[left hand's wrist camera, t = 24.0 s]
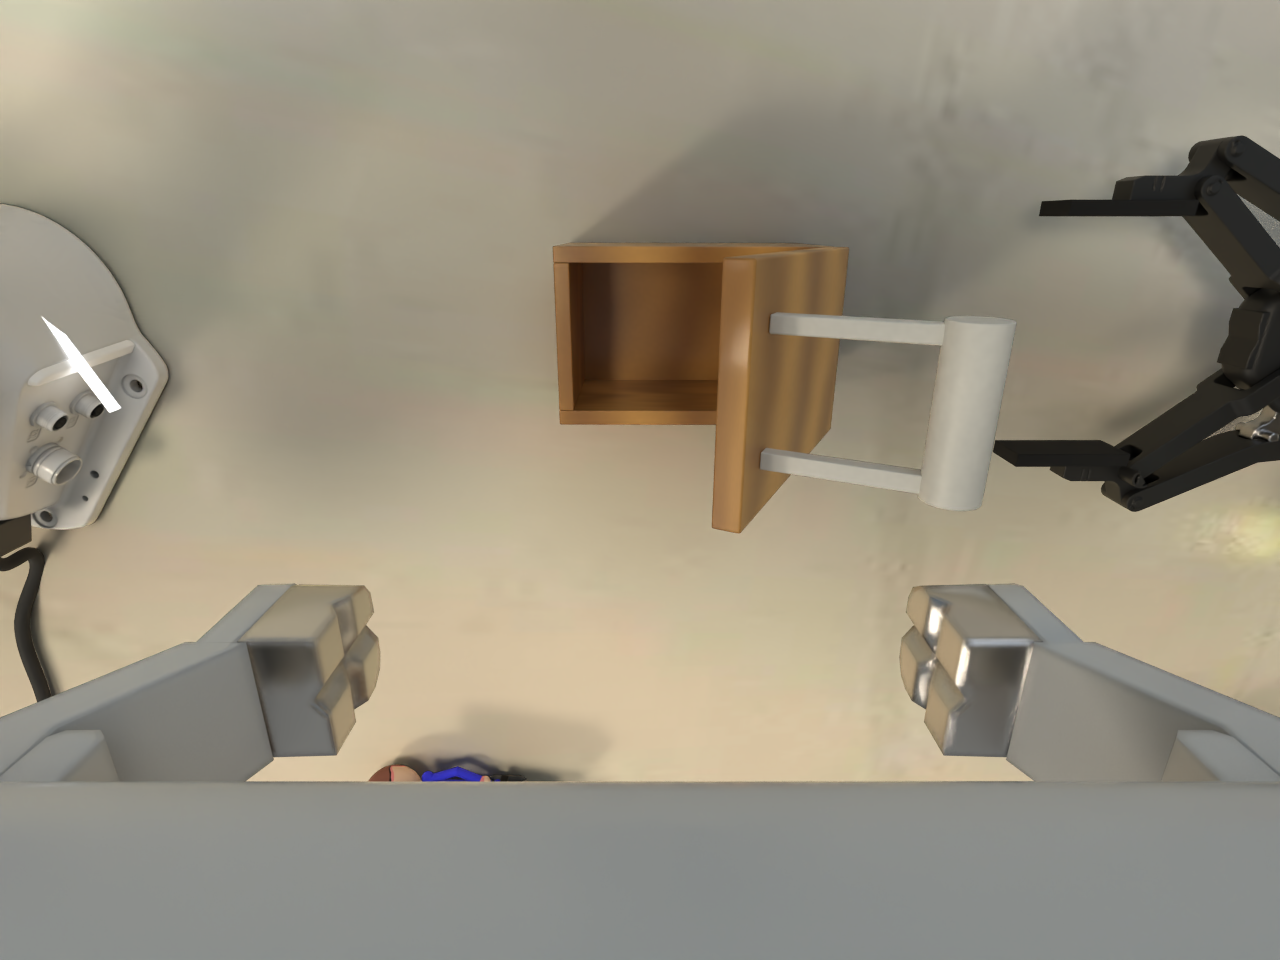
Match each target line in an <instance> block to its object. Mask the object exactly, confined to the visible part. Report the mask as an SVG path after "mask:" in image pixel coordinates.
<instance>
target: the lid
mask: <svg viewBox="0 0 1280 960" xmlns="http://www.w3.org/2000/svg"><path fill="white" fill-rule="evenodd" d="M848 255H849V248H848V247H823V248H813V249H803V250H793V251H783V252H774V253H764V254H754V255H744V256H734V257H726V258H724V259H723V274H722V298H721V322H720V345H719V369H718V393H717V416H716V440H715V463H714V487H713V511H712V528H714V529H719V530H724V531H729V532H734V533H741V532H742V531H743V529H744V528H745V527H746V526H747V525H748V524H749V522H750V521H751V520H752V519H753V518H754V517H755V515H756V514H757V513H758V512H759V511H760V510H761V509H762V507H763V506H764V505H765V504H766V503H767V502H768V500H769V499H770V498H771V497H772V496H773V495H774V493H775V492H776V491H777V490H778V489H779V488H780V487H781V485H782V484H783V483H784V482H785V481H786V480H787V478H788V477H789V476H790V475H791V474H793V475H799V476H805V477H812V478H818V479H825V480H831V481H837V482H844V483H850V484H857V485H863V486H869V487H876V488H882V489H889V490H895V491H901V492H908V493H914V494H918V498H919V499H920V500H921V501H922V502H924V503H926V504H928V505H930V506H933V507H936V508H940V509H945V510H951V511H971V510H976V509H978V508H980V507H981V505H982V501H983V496H984V491H985V486H986V480H987V475H988V470H989V465H990V459H991V454H992V449H993V444H994V439H995V433H996V428H997V423H998V418H999V413H1000V407H1001V402H1002V397H1003V392H1004V387H1005V381H1006V376H1007V371H1008V366H1009V361H1010V355H1011V350H1012V345H1013V340H1014V334H1015V329H1016V324H1017V323H1016V321H1014V320H1011V319H1005V318H997V317H986V316H951V317H947V318H945V321H925V320H907V319H889V318H871V317H853V316H842V313H843V304H844V294H845V284H846V275H847V265H848ZM840 339H850V340H865V341H879V342H894V343H908V344H923V345H937V346H941V347H940V353H939V359H938V366H937V372H936V379H935V385H934V392H933V398H932V405H931V411H930V417H929V424H928V430H927V437H926V443H925V450H924V456H923V462H922V469H921V470H919V469H912V468H905V467H898V466H891V465H884V464H877V463H870V462H863V461H856V460H849V459H841V458H834V457H827V456H820V455H813V454H809V453H810V452H811V451H812V450H813V448H814V447H815V446H816V445H817V444H818V443H819V441H820V440H821V439H822V438H823V437H824V436H825V435H826V433H827V432H828V431H829V430H830V428H831V420H832V410H833V400H834V391H835V381H836V371H837V362H838V352H839V342H840Z"/></svg>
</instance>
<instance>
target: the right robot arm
mask: <svg viewBox="0 0 1280 960" xmlns="http://www.w3.org/2000/svg"><path fill="white" fill-rule="evenodd" d="M1188 158H1189V162H1190V163H1189V164H1188V166H1187V168H1186V169H1185V170H1184V171H1183V172H1182V173H1181V174H1179V175H1178V176H1137V177H1126V178H1124V179H1121V180H1119V181H1116V185H1115V189H1114V193H1113V198H1112V200H1058V201H1042V203H1041V209H1040V214H1039V216H1183V217H1184V219H1185V220H1186V221H1187V222H1188V224H1189V225H1190V226H1191V227H1192V228H1193V230H1194V231H1195V232H1196V233H1197V234H1198V236H1199V237H1200V238H1201V239H1202V240H1203V242H1204V243H1205V244H1206V245H1207V246H1208V248H1209V249H1210V250H1211V251H1212V252H1213V254H1214V255H1215V256H1216V257H1217V259H1218V260H1219V261H1220V262H1221V263H1222V265H1223V266H1224V267H1225V268H1226V269H1227V271H1228V272H1229V273H1230V274H1231V277H1230V278H1229V281H1230V282H1231V283H1232V285H1233V286H1234V287H1235V288H1236V289H1237V291H1238V292H1239V293H1240V294H1241V296H1242V297H1243V298H1244V299H1245V300H1244V301H1243V303H1242V304H1241V305H1240V307H1239V308H1233V311H1232V314H1231V318H1230V321H1229V335H1228V338H1227V339H1226V341H1225V343H1224V345H1223V346H1222V348H1221V351H1220V354H1219V357H1218V360H1217V362H1218V363H1222V369H1220V370H1219V371H1217V372H1216V373H1214V374H1213V375H1211V376H1210V377H1208V378H1207V379H1205V380H1204V381H1202V382H1201V383H1200V384H1198V385H1197V391H1196V392H1195V393H1194V394H1192V395H1191V396H1189V397H1188V398H1186V399H1185V400H1183V401H1182V402H1180V403H1179V404H1177V405H1176V406H1174V407H1173V408H1171V409H1170V410H1168V411H1167V412H1165V413H1164V414H1162V415H1161V416H1159V417H1158V418H1156V419H1155V420H1153V421H1152V422H1150V423H1149V424H1147V425H1146V426H1144V427H1143V428H1141V429H1140V430H1138V431H1137V432H1135V433H1134V434H1132V435H1131V436H1129V437H1128V438H1127V439H1125V440H1124V441H1122V442H1121V443H1119V444H1118V445H1116V446H1115V447H1114V446H1112V445H1110V444H1107V443H1105V442H1103V441H1101V440H995V444H994V449H993V452H994V453H995V454H997V455H999V456H1000V457H1002V458H1003V459H1005V460H1006V461H1008V462H1009V463H1011V464H1013V465H1014V466H1016V467H1050V470H1051V471H1052V472H1054V473H1056V474H1058V475H1059V476H1061V477H1063V478H1065V479H1067V480H1070V481H1105V483H1104V484H1103V485H1102V488H1101V492H1102V494H1103V495H1104V496H1106V497H1108V498H1109V499H1111V500H1113V501H1115V502H1116V503H1118V504H1120V505H1122V506H1123V507H1125V508H1127V509H1129V510H1130V511H1134V512H1136V511H1140V510H1142V509H1145V508H1147V507H1150V506H1152V505H1155V504H1157V503H1159V502H1162V501H1164V500H1167V499H1169V498H1172V497H1174V496H1177V495H1179V494H1181V493H1184V492H1186V491H1189V490H1191V489H1194V488H1196V487H1199V486H1201V485H1204V484H1206V483H1208V482H1211V481H1213V480H1216V479H1218V478H1221V477H1223V476H1226V475H1228V474H1230V473H1233V472H1235V471H1238V470H1240V469H1243V468H1245V467H1248V466H1250V465H1252V464H1255V463H1257V462H1266V461H1276V460H1280V248H1279V247H1278V246H1277V245H1276V243H1275V242H1274V241H1273V239H1272V238H1271V237H1270V236H1269V234H1268V233H1267V232H1266V231H1265V229H1264V228H1263V227H1262V226H1261V224H1260V223H1259V222H1258V221H1257V219H1256V218H1255V217H1254V215H1253V214H1252V213H1251V212H1250V210H1249V209H1248V208H1247V207H1246V205H1245V204H1244V203H1243V202H1242V200H1241V199H1240V198H1239V197H1238V195H1240V196H1241V197H1243V198H1244V199H1246V200H1247V201H1249V202H1250V203H1252V204H1253V205H1255V206H1257V207H1258V208H1260V209H1261V210H1263V211H1264V212H1266V213H1267V214H1269V215H1270V216H1272V217H1274V218H1275V219H1277V220H1278V221H1280V159H1279V158H1277V157H1276V156H1274V155H1273V154H1271V153H1270V152H1268V151H1267V150H1265V149H1264V148H1262V147H1261V146H1259V145H1258V144H1256V143H1255V142H1253V141H1252V140H1250V139H1249V138H1247V137H1245V136H1235V137H1227V138H1220V139H1213V140H1208V141H1201V142H1198V143H1196V144H1195V145H1194V146H1193V147H1192V148H1191V150H1190V152H1189V157H1188ZM1237 194H1238V195H1237ZM1235 386H1237V387H1238V388H1239V389H1240V390H1239V389H1235V388H1233V387H1235ZM1262 408H1263V410H1262V412H1261V414H1260V415H1259V416H1258V417H1257V418H1256V419H1254V420H1252V421H1249V422H1247V423H1243V422H1240V423H1238V424H1237V425H1236V427H1235V430H1234V431H1228V432H1224V433H1220V434H1218V435H1215V436H1212V437H1210V438H1207V437H1208V436H1210V435H1211V434H1213V433H1214V432H1216V431H1217V430H1219V429H1221V428H1222V427H1224V426H1225V425H1227V424H1228V423H1230V422H1231V421H1233V420H1234V419H1236V418H1238V417H1241V416H1248V415H1252V414H1254V413H1256V412H1258V411H1259V410H1261V409H1262ZM1205 438H1207V439H1205ZM1204 439H1205V440H1204ZM1202 440H1203V441H1202Z"/></svg>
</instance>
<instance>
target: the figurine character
mask: <svg viewBox="0 0 1280 960" xmlns="http://www.w3.org/2000/svg"><path fill="white" fill-rule="evenodd" d="M456 776H457V777H460V778H462V779H465V780H456V779H449V778H452V777H456ZM490 779H491V780H490ZM524 780H526V778H524V777H523V776H521V775H493V776H491V777H488V776H481V775H479V774H476V773H473V772H471V771H468V770H465V769H463V768H460V767H455V768H451V769H447V770H444V771H440V772H437V773H432V772H431V771H426V772H424V773H423V775H422V781H421V779H420V777H419V775H418V774H417V773H416V772H415V771H414V770H413V769H411V768H410V767H408V766H405V765H398V764H397V765H390V766H386V767H384V768H382V769H380V770H379V771H377V772H376V773H375V774H374V775H373V776H372V777H371V778H370V779H369V781H368V782H492V781H494V782H522V781H524Z"/></svg>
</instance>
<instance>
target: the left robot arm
mask: <svg viewBox="0 0 1280 960" xmlns="http://www.w3.org/2000/svg"><path fill="white" fill-rule="evenodd" d="M137 380H138V381H139V382H140V383H141V384H142V386H143V389H141V388H139V386H138V385H137ZM167 380H168V369H167V366H166V364H165V362H164V361H163V359H162V358H161V357H160V355H159V354H158V353H157V351H156V350H155V349H154V348H153V347H152V345H151V344H150V343H149V342H148V341H147V340H146V338H145V337H144V336H143V335H142V334H141V332H140V331H139V329H138V327H137V325H136V323H135V320H134V318H133V315H132V313H131V310H130V308H129V305H128V303H127V300H126V298H125V296H124V294H123V292H122V290H121V288H120V286H119V285H118V283H117V281H116V280H115V278H114V277H113V275H112V274H111V272H110V271H109V270H108V268H107V267H106V266H105V264H104V263H103V262H102V261H101V260H100V258H99V257H98V256H97V255H96V254H95V253H94V252H93V251H92V250H91V249H90V248H89V247H88V246H87V245H86V244H85V243H84V242H82V241H81V240H80V239H79V238H78V237H76V236H75V235H74V234H72V233H71V232H70V231H68V230H67V229H65V228H64V227H62V226H61V225H59V224H58V223H56V222H54V221H52V220H50V219H48V218H46V217H44V216H42V215H40V214H37V213H35V212H33V211H30V210H27V209H24V208H20V207H16V206H12V205H6V204H0V571H8V570H11V569H13V568H15V567H17V566H19V565H21V564H22V563H24V562H26V561H27V560H28V561H29V564H30V569H29V574H28V577H27V580H26V582H25V585H24V588H23V590H22V593H21V595H20V598H19V601H18V605H17V609H16V613H15V620H14V630H15V638H16V643H17V647H18V650H19V654H20V657H21V660H22V662H23V665H24V668H25V670H26V672H27V675H28V677H29V680H30V682H31V685H32V688H33V690H34V693H35V696H36V699H37V703H35V704H32V705H30V706H27V707H25V708H23V709H20V710H18V711H15V712H13V713H10V714H8V715H5V716H3V717H0V960H1280V718H1279V717H1277V716H1274V715H1272V714H1269V713H1267V712H1264V711H1262V710H1259V709H1257V708H1255V707H1252V706H1250V705H1247V704H1245V703H1242V702H1240V701H1237V700H1235V699H1233V698H1230V697H1228V696H1225V695H1223V694H1220V693H1218V692H1215V691H1213V690H1211V689H1208V688H1206V687H1203V686H1201V685H1198V684H1196V683H1193V682H1191V681H1188V680H1186V679H1184V678H1181V677H1179V676H1176V675H1174V674H1171V673H1169V672H1166V671H1164V670H1162V669H1159V668H1157V667H1154V666H1152V665H1149V664H1147V663H1144V662H1142V661H1140V660H1137V659H1135V658H1132V657H1130V656H1127V655H1125V654H1122V653H1120V652H1118V651H1115V650H1113V649H1110V648H1108V647H1105V646H1103V645H1100V644H1098V643H1095V642H1083V641H1082V640H1081V639H1080V638H1079V637H1078V636H1077V635H1076V634H1074V633H1073V632H1072V631H1071V630H1070V629H1069V628H1068V627H1067V626H1066V625H1065V624H1064V623H1063V622H1061V621H1060V620H1059V619H1058V618H1057V617H1056V616H1055V615H1054V614H1053V613H1052V612H1051V611H1050V610H1048V609H1047V608H1046V607H1045V606H1044V605H1043V604H1042V603H1041V602H1040V601H1039V600H1038V599H1037V598H1035V597H1034V596H1033V595H1032V594H1031V593H1030V592H1029V591H1028V590H1027V589H1026V588H1025V587H1024V586H1021V585H1018V584H1014V583H1012V584H989V585H986V584H973V585H931V586H917V587H913V588H912V590H911V593H910V595H909V597H908V603H907V608H906V613H907V615H908V616H909V618H910V619H911V621H912V622H913V624H914V626H913V627H912V628H911V629H910V630H909V631H908V632H907V633H906V634H905V635H904V636H903V637H902V640H901V649H900V657H899V658H900V668H901V677H902V680H903V683H904V686H905V689H906V691H907V693H908V695H909V696H910V698H911V700H912V701H913V702H915V703H916V704H918V705H920V706H921V707H923V708H924V709H926V713H925V719H924V723H925V724H926V726H927V728H928V730H929V731H930V733H931V735H932V736H933V738H934V740H935V741H936V743H937V745H938V747H939V748H940V750H941V752H942V753H943V755H947V756H984V757H1007V758H1006V760H1007V761H1008V762H1010V763H1011V764H1012V765H1014V766H1015V767H1016V768H1018V769H1019V770H1020V771H1022V772H1023V773H1024V774H1026V775H1027V776H1028V777H1030V778H1031V779H1032V780H1034V781H749V782H245V781H246V780H248V779H249V778H250V777H252V776H253V775H254V774H256V773H257V772H258V771H260V770H261V769H262V768H264V767H265V766H266V765H268V764H269V763H270V762H272V761H273V760H274V759H273V757H295V756H331V755H337V754H338V752H339V750H340V748H341V747H342V745H343V743H344V742H345V740H346V738H347V736H348V735H349V733H350V731H351V730H352V728H353V726H354V724H355V723H356V719H355V713H354V709H356V708H357V707H359V706H360V705H362V704H364V703H365V702H367V701H368V700H369V698H370V696H371V694H372V693H373V691H374V689H375V687H376V683H377V679H378V675H379V670H380V647H379V640H378V637H377V636H376V635H375V634H374V633H373V632H372V631H371V630H370V629H369V628H368V627H367V626H366V624H367V622H368V621H369V619H370V618H371V616H372V615H373V613H374V609H373V604H372V599H371V594H370V592H369V590H368V589H367V588H366V587H365V586H364V585H311V584H299V585H297V584H265V585H258V586H257V587H256V588H254V589H253V590H252V591H251V592H250V593H249V594H248V595H247V596H246V597H245V598H244V599H243V600H241V601H240V602H239V603H238V604H237V605H236V606H235V607H234V608H233V609H232V610H231V611H230V612H228V613H227V614H226V615H225V616H224V617H223V618H222V619H221V620H220V621H219V622H218V623H216V624H215V625H214V626H213V627H212V628H211V629H210V630H209V631H208V632H207V633H206V634H205V635H203V636H202V637H201V638H200V639H199V640H198V641H197V642H185V643H182V644H180V645H177V646H175V647H172V648H170V649H167V650H165V651H162V652H160V653H158V654H155V655H153V656H150V657H148V658H145V659H143V660H140V661H138V662H135V663H133V664H131V665H128V666H126V667H123V668H121V669H118V670H116V671H113V672H111V673H108V674H106V675H104V676H101V677H99V678H96V679H94V680H91V681H89V682H86V683H84V684H81V685H79V686H77V687H74V688H72V689H69V690H67V691H64V692H62V693H59V694H57V695H54V696H51V693H50V690H49V686H48V684H47V681H46V678H45V676H44V673H43V670H42V668H41V665H40V663H39V660H38V658H37V655H36V652H35V649H34V646H33V642H32V637H31V631H30V614H31V609H32V605H33V602H34V599H35V597H36V594H37V591H38V589H39V584H40V580H41V575H42V572H43V568H44V564H45V562H44V556H43V554H42V553H41V552H40V551H39V550H38V549H36V548H31V547H27V548H24V549H21V550H19V551H17V552H16V553H14V554H12V555H10V556H9V557H7V558H1V556H3V555H5V554H7V553H9V552H11V551H13V550H15V549H17V548H19V547H21V546H23V545H25V544H27V543H29V542H30V541H31V540H32V536H31V526H33V527H38V528H45V529H58V530H67V529H77V528H82V527H85V526H87V525H90V524H92V523H94V522H95V520H96V519H97V518H98V516H99V514H100V512H101V510H102V508H103V506H104V505H105V503H106V501H107V499H108V497H109V495H110V493H111V491H112V489H113V487H114V485H115V483H116V481H117V479H118V477H119V475H120V473H121V471H122V469H123V467H124V465H125V463H126V461H127V459H128V457H129V456H130V454H131V452H132V450H133V448H134V446H135V444H136V442H137V440H138V438H139V436H140V434H141V432H142V430H143V428H144V426H145V424H146V422H147V420H148V418H149V416H150V414H151V412H152V410H153V408H154V406H155V405H156V403H157V401H158V399H159V397H160V395H161V393H162V391H163V389H164V387H165V385H166V383H167ZM49 513H50V514H51V515H52V516H50V514H49Z"/></svg>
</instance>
